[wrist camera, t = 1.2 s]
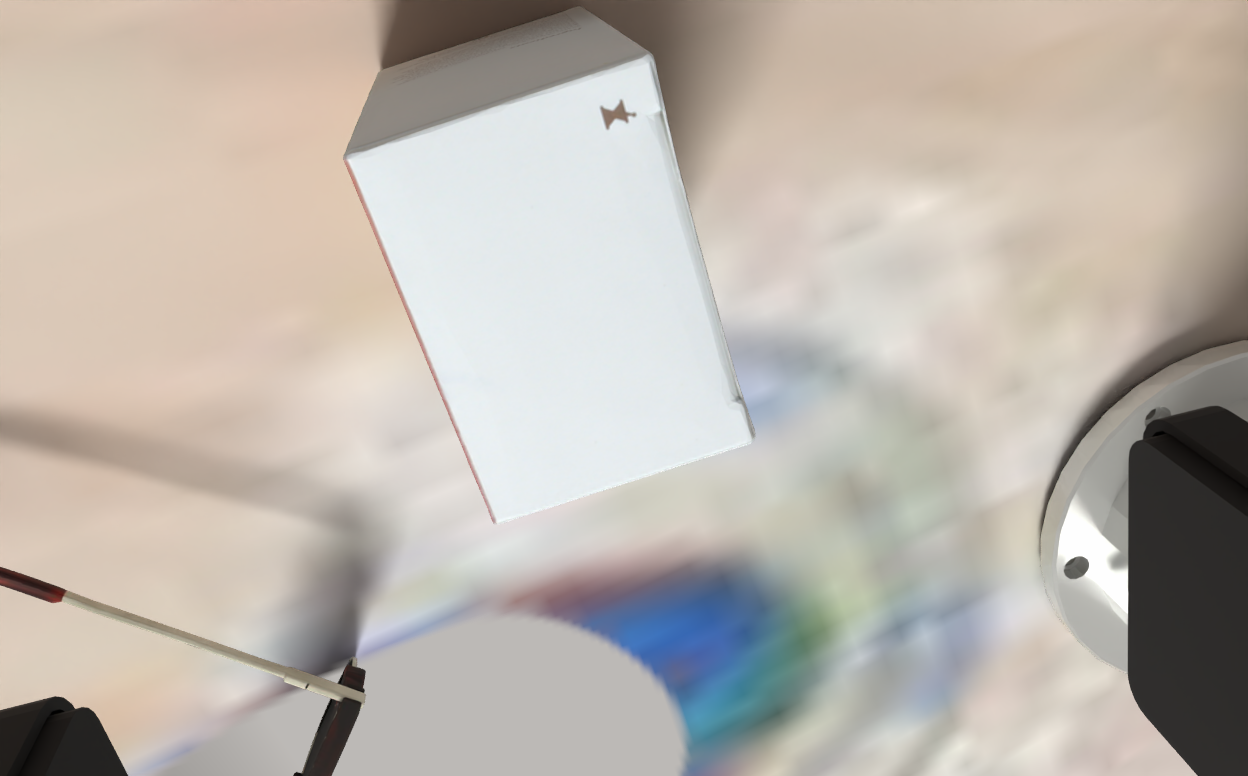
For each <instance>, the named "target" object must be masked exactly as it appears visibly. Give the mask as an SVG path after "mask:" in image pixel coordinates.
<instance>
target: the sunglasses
mask: <svg viewBox="0 0 1248 776" xmlns="http://www.w3.org/2000/svg"><path fill="white" fill-rule="evenodd" d="M0 585H1V586H4V587H7V588H10V589H13V590H16V591H19V592H22V593H25V594H28V595H31V596H33V597H36V598H39V599H42V600H45V601H48V602H51V603H56V602H64V603H67V604H70V605H73V606H75V607H78V608H81V609H84V610H87V611H90V612H93V613H96V614H98V615H101V616H104V617H107V618H110V619H113V620H116V621H119V622H122V623H125V624H128V625H131V626H134V627H137V628H140V629H143V630H146V631H149V632H152V633H155V634H158V635H161V636H164V637H167V638H170V639H173V640H176V641H179V642H182V643H185V644H188V645H191V646H194V647H197V648H200V649H203V650H205V651H208V652H211V653H214V654H217V655H220V656H222V657H225V658H228V659H231V660H234V661H237V662H239V663H242V664H245V665H248V666H251V667H254V668H256V669H259V670H262V671H265V672H268V673H271V674H273V675H276V676H279V677H282V678H283V679H284V682H286V683H289V684H291V685H294V686H297V687H300V688H303V689H307V690H309V691H311V692H314V693H317V694H320V695H323V696H326V697H329V698H330V701H329V703H328V705H327V707H326V710H325V712H324V715H323V717H322V719H321V722H320V724H319V727H318V729H317V732H316V734H315V737H314V740H313V742H312V745H311V748H310V751H309V754H308V756H307V760H306V762H305V765H304V768H303V771H302V773H298V772H296V773H294V775H293V776H332V773H333V771H334V769H335V767H336V765H337V762H338V760H339V758H340V756H341V754H342V751H343V749H344V747H345V745H346V742H347V740H348V737H349V735H350V733H351V731H352V728H353V726H354V724H355V721H356V719H357V717H358V714H359V711H360V709H361V708H362V707H363V705H364V703H365V696H366V695H365V693H364V691H365V690H364V689H363V685H364V679H365V670H363V669H361V668H358V667H357V658H355V657H352V658H351V659H350V660H349V661H350V663H349V665H347V666H346V668H345V669H344V671H343V673H342V675H341V677H340V679H339V681H338V683H334V682H331V681H329V680H326V679H323V678H320V677H317V676H315V675H312V674H309V673H306V672H303V671H300V670H297V669H295V668H292V667H285V666H282V665H279V664H276V663H273V662H270V661H267V660H264V659H261V658H258V657H255V656H253V655H250V654H247V653H244V652H241V651H238V650H236V649H233V648H230V647H227V646H224V645H221V644H219V643H216V642H213V641H210V640H207V639H204V638H201V637H198V636H195V635H192V634H190V633H187V632H184V631H181V630H178V629H175V628H172V627H169V626H166V625H164V624H161V623H158V622H155V621H152V620H149V619H146V618H143V617H140V616H137V615H134V614H132V613H129V612H126V611H123V610H120V609H117V608H114V607H111V606H108V605H105V604H102V603H99V602H96V601H93V600H91V599H88V598H85V597H83V596H80V595H77V594H75V593H72V592H70V591H67V590H65V589H63V588H60V587H57V586H55V585H52V584H49V583H46V582H43V581H41V580H38V579H35V578H32V577H29V576H26V575H24V574H21V573H18V572H15V571H11V570H8V569H5V568H2V567H0Z"/></svg>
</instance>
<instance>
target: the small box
mask: <svg viewBox="0 0 1248 776" xmlns="http://www.w3.org/2000/svg"><path fill="white" fill-rule="evenodd" d="M343 160H344V162H345V165H346V167H347V169H348V171H349V174H350V176H351V179H352V181H353V183H354V186H355V188H356V191H357V193H358V196H359V198H360V201H361V203H362V205H363V208H364V210H365V212H366V215H367V217H368V220H369V222H370V224H371V227H372V229H373V232H374V234H375V237H376V239H377V242H378V244H379V246H380V249H381V251H382V254H383V256H384V259H385V261H386V264H387V266H388V268H389V271H390V273H391V276H392V278H393V281H394V283H395V285H396V288H397V290H398V293H399V295H400V298H401V300H402V302H403V305H404V307H405V310H406V312H407V315H408V317H409V320H410V322H411V324H412V327H413V329H414V332H415V334H416V336H417V339H418V341H419V343H420V346H421V348H422V351H423V353H424V356H425V358H426V361H427V363H428V365H429V368H430V370H431V373H432V375H433V378H434V380H435V382H436V385H437V387H438V390H439V392H440V395H441V397H442V399H443V402H444V404H445V407H446V409H447V411H448V414H449V416H450V419H451V421H452V424H453V426H454V428H455V431H456V433H457V436H458V438H459V440H460V443H461V445H462V448H463V450H464V453H465V455H466V458H467V460H468V463H469V465H470V468H471V470H472V472H473V475H474V477H475V479H476V482H477V484H478V486H479V489H480V491H481V494H482V496H483V498H484V501H485V503H486V505H487V508H488V510H489V513H490V516H491V519H492V521H493V523H494V524H502V523H505V522H508V521H511V520H514V519H517V518H520V517H523V516H526V515H529V514H532V513H536V512H539V511H542V510H545V509H548V508H551V507H554V506H558V505H561V504H564V503H567V502H570V501H573V500H576V499H579V498H582V497H585V496H588V495H591V494H595V493H598V492H601V491H604V490H607V489H610V488H613V487H616V486H620V485H623V484H626V483H629V482H632V481H635V480H638V479H642V478H645V477H648V476H651V475H654V474H657V473H660V472H663V471H667V470H670V469H673V468H676V467H679V466H682V465H685V464H688V463H692V462H695V461H698V460H701V459H704V458H707V457H710V456H714V455H717V454H720V453H723V452H726V451H729V450H732V449H736V448H739V447H742V446H746V445H748V444H750V443H752V442H753V440H754V439H755V437H756V436H755V430H754V427H753V424H752V421H751V419H750V416H749V413H748V410H747V407H746V404H745V401H744V398H743V395H742V392H741V389H740V386H739V383H738V380H737V376H736V373H735V369H734V366H733V363H732V359H731V356H730V352H729V349H728V346H727V342H726V339H725V335H724V331H723V328H722V324H721V320H720V317H719V313H718V309H717V306H716V302H715V298H714V295H713V291H712V288H711V284H710V280H709V277H708V273H707V270H706V266H705V262H704V259H703V255H702V252H701V248H700V244H699V240H698V237H697V233H696V229H695V225H694V222H693V218H692V214H691V210H690V207H689V203H688V199H687V195H686V192H685V188H684V184H683V180H682V177H681V173H680V169H679V166H678V162H677V158H676V154H675V150H674V145H673V141H672V137H671V132H670V128H669V123H668V119H667V115H666V110H665V106H664V101H663V97H662V92H661V88H660V83H659V79H658V75H657V69H656V63H655V59H654V56H653V55H652V54H651V53H650V52H649V51H647V50H646V49H644V48H643V47H641V46H640V45H638V44H637V43H636V42H634V41H632V40H631V39H629V38H628V37H626V36H625V35H623V34H622V33H620V32H619V31H618V30H616V29H615V28H613V27H612V26H610V25H609V24H607V23H606V22H604V21H603V20H601V19H600V18H598V17H597V16H595V15H594V14H592V13H590V12H589V11H588V10H586V9H584V8H583V7H581V6H577V7H574V8H571V9H568V10H565V11H563V12H560V13H557V14H554V15H551V16H548V17H544V18H541V19H538V20H535V21H532V22H528V23H525V24H522V25H519V26H516V27H513V28H509V29H506V30H503V31H500V32H497V33H494V34H491V35H488V36H485V37H482V38H479V39H475V40H472V41H469V42H466V43H463V44H460V45H457V46H454V47H451V48H448V49H444V50H441V51H438V52H435V53H432V54H429V55H426V56H423V57H419V58H416V59H413V60H410V61H407V62H404V63H401V64H398V65H395V66H392V67H389V68H386V69H383V70H381V71H380V72H379V73H378V74H377V77H376V79H375V81H374V84H373V86H372V89H371V91H370V93H369V96H368V99H367V101H366V103H365V105H364V107H363V110H362V112H361V115H360V117H359V120H358V122H357V124H356V126H355V129H354V132H353V134H352V137H351V140H350V142H349V144H348V146H347V149H346V152H345V154H344V157H343Z"/></svg>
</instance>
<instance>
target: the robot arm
mask: <svg viewBox="0 0 1248 776" xmlns="http://www.w3.org/2000/svg"><path fill="white" fill-rule="evenodd" d="M1040 567H1041V571H1042V576H1043V581H1044V585H1045V590H1046V594H1047V596H1048V598H1049V600H1050V602H1051V604H1052V606H1053V608H1054V610H1055V612H1056V614H1057V616H1058V618H1059V619H1060V620H1061V621H1062V623H1063V624H1064V625H1065V626H1066V628H1067V629H1068V630H1069V631H1070V632H1071V634H1072V635H1073V636H1074V637H1075V639H1076V640H1077V641H1078V642H1079V643H1080V644H1081V645H1082V646H1083V647H1084V648H1085V649H1087V650H1088V651H1089V652H1090V653H1091V654H1092V655H1093V656H1094V657H1096V658H1097V659H1098V660H1100V661H1101V662H1103V663H1105V664H1107V665H1109V666H1111V667H1113V668H1115V669H1117V670H1119V671H1120V672H1123V673H1126V674H1128V680H1129V684H1130V688H1131V691H1132V693H1133V696H1134V698H1135V701H1136V702H1137V704H1138V706H1139V708H1140V709H1141V711H1142V712H1143V713H1144V715H1145V716H1146V717H1147V719H1148V720H1149V721H1150V722H1151V723H1152V724H1153V725H1154V726H1155V728H1156V729H1157V730H1158V731H1159V732H1160V733H1161V734H1162V736H1163V737H1164V738H1165V739H1166V740H1167V741H1168V742H1169V744H1170V745H1171V746H1172V747H1173V748H1174V749H1175V750H1176V752H1177V753H1178V754H1179V755H1180V756H1181V757H1182V758H1183V759H1184V761H1185V762H1186V763H1187V764H1188V765H1189V766H1190V767H1191V769H1192V770H1193V771H1194V772H1195V773H1196V774H1197V775H1198V776H1248V340H1242V341H1238V342H1234V343H1230V344H1226V345H1222V346H1218V347H1214V348H1210V349H1206V350H1204V351H1201V352H1199V353H1197V354H1194V355H1192V356H1190V357H1187V358H1185V359H1183V360H1180V361H1178V362H1176V363H1173V364H1171V365H1169V366H1168V367H1166V368H1165V369H1163V370H1161V371H1160V372H1158V373H1156V374H1155V375H1153V376H1152V377H1150V378H1148V379H1147V380H1145V381H1144V382H1142V383H1140V384H1139V385H1137V386H1136V387H1135V388H1134V389H1133V390H1131V391H1130V392H1129V393H1128V394H1127V395H1125V396H1124V397H1123V398H1122V399H1121V400H1120V401H1118V402H1117V403H1116V404H1115V405H1114V406H1112V407H1111V408H1110V409H1109V410H1108V411H1107V412H1106V413H1105V414H1104V415H1103V416H1102V417H1101V419H1100V420H1099V421H1098V422H1097V423H1096V424H1095V425H1094V427H1093V428H1092V429H1091V430H1090V431H1089V432H1088V433H1087V435H1086V436H1085V437H1084V438H1083V439H1082V440H1081V442H1080V443H1079V445H1078V447H1077V448H1076V450H1075V451H1074V453H1073V455H1072V456H1071V458H1070V459H1069V461H1068V462H1067V464H1066V466H1065V467H1064V469H1063V470H1062V472H1061V474H1060V477H1059V479H1058V481H1057V484H1056V486H1055V488H1054V491H1053V493H1052V496H1051V498H1050V500H1049V503H1048V506H1047V510H1046V515H1045V519H1044V524H1043V528H1042V533H1041V559H1040ZM0 776H128V774H127V773H126V771H125V769H124V767H123V765H122V763H121V761H120V759H119V757H118V755H117V753H116V751H115V749H114V747H113V746H112V744H111V742H110V740H109V738H108V736H107V734H106V732H105V730H104V728H103V726H102V724H101V722H100V720H99V719H98V717H97V716H96V714H95V713H94V712H93V711H92V710H90V709H89V708H85V707H81V708H78V709H75V708H74V707H73V705H72V704H71V703H70V702H69V701H67V700H66V699H65V698H62V697H56V696H55V697H51V698H47V699H43V700H39V701H35V702H31V703H27V704H23V705H19V706H15V707H11V708H7V709H3V710H0Z"/></svg>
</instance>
